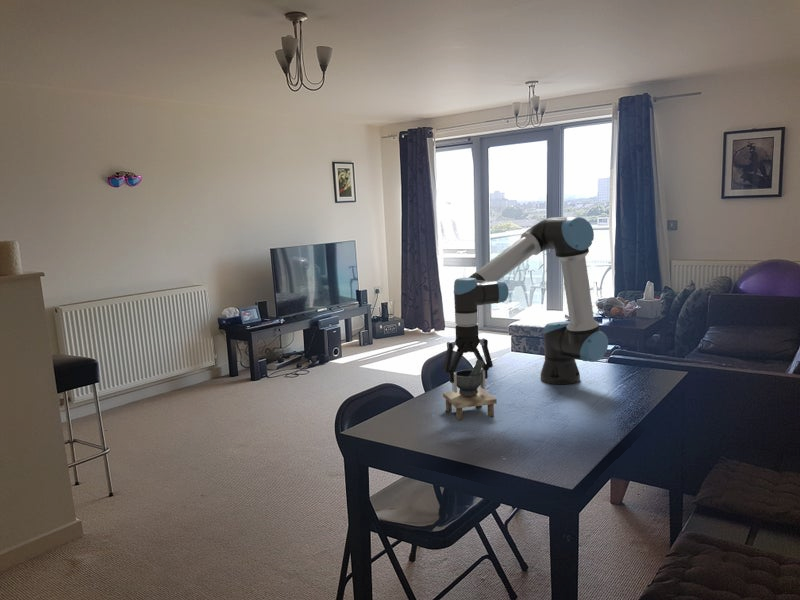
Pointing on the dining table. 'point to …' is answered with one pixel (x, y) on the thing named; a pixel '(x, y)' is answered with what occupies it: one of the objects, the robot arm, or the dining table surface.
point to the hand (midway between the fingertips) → (468, 390)
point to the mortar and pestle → (470, 379)
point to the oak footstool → (469, 402)
